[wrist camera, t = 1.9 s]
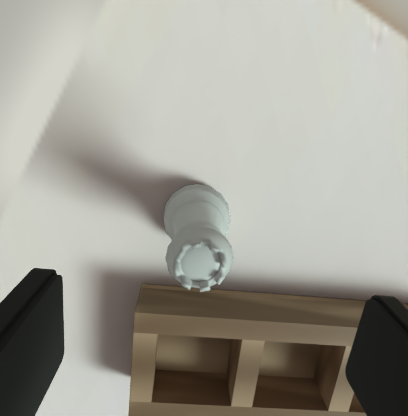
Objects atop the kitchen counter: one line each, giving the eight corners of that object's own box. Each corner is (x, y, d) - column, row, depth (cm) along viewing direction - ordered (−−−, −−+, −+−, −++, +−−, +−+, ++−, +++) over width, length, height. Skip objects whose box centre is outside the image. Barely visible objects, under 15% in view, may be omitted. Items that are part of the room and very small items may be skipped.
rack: (404, 393, 28) (434, 431, 25) (136, 378, 26) (128, 418, 23) (435, 305, 26) (473, 335, 22) (142, 284, 24) (134, 312, 20)
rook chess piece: (197, 168, 22) (201, 200, 14) (242, 214, 23) (269, 267, 15) (150, 213, 22) (130, 267, 15) (195, 256, 23) (199, 326, 16)
